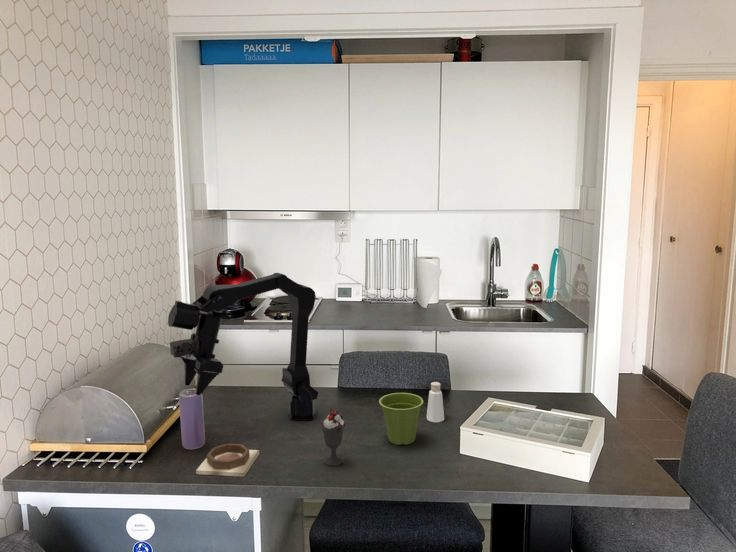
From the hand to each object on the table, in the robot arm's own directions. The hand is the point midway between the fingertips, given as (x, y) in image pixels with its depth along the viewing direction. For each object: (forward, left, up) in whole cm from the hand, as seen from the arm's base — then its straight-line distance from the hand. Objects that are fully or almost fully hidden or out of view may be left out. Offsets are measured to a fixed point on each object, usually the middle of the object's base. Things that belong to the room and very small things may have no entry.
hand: (192, 389), depth 160 cm
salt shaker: (-64, -23, -15) cm, 70 cm away
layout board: (-13, +10, -15) cm, 22 cm away
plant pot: (-55, -8, -15) cm, 58 cm away
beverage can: (0, +1, -15) cm, 15 cm away
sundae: (-39, +6, -15) cm, 42 cm away
